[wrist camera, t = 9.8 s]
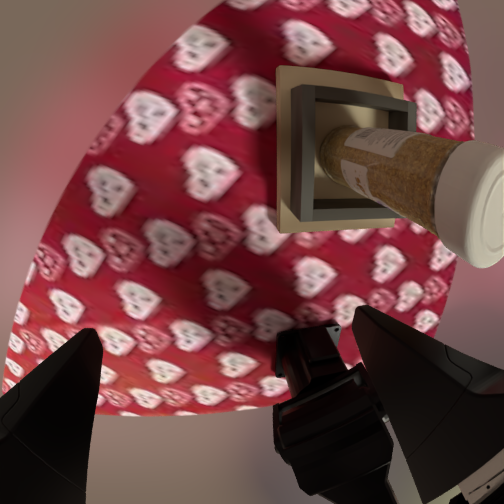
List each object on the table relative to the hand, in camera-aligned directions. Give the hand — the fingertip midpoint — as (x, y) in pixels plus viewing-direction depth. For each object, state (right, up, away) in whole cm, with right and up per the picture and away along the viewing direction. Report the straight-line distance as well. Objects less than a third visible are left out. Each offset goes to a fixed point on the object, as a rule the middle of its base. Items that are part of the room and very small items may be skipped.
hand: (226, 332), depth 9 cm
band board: (+8, +10, +11) cm, 17 cm away
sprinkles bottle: (+8, +10, +10) cm, 16 cm away
